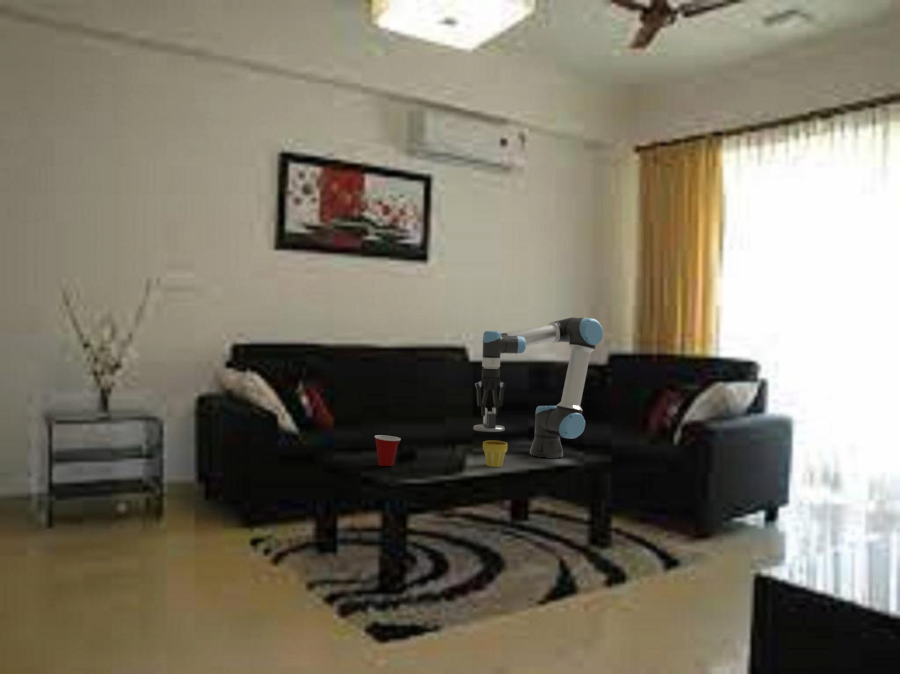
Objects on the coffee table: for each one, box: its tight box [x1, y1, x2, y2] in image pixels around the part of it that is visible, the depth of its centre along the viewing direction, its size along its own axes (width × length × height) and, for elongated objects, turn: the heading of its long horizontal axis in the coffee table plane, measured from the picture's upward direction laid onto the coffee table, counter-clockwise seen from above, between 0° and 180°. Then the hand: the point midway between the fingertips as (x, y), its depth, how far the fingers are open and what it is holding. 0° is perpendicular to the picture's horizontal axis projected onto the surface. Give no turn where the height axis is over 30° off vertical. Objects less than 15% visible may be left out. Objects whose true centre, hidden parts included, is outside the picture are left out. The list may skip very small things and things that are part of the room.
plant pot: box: [482, 440, 509, 468], centre depth 338 cm, size 10×10×10 cm
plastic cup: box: [374, 434, 402, 467], centre depth 326 cm, size 11×11×12 cm
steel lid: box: [473, 410, 505, 433], centre depth 337 cm, size 13×13×7 cm
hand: (489, 423), depth 337 cm, fingers closed on steel lid, 3 cm apart
